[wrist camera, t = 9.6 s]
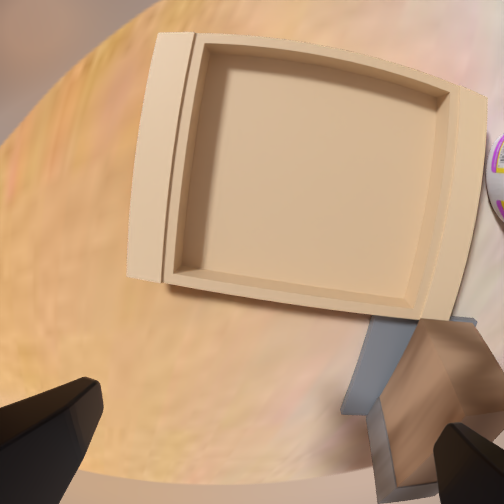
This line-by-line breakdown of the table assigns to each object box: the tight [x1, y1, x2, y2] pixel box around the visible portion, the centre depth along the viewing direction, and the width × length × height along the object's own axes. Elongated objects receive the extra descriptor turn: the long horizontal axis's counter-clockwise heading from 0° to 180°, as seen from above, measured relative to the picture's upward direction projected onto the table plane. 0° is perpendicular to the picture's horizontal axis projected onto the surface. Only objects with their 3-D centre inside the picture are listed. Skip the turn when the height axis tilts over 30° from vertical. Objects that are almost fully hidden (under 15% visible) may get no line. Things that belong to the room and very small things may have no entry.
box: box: [366, 318, 504, 504], centre depth 14 cm, size 4×9×7 cm, turn 172°
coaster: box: [340, 315, 477, 415], centre depth 19 cm, size 8×8×1 cm
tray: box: [127, 32, 487, 321], centre depth 16 cm, size 18×13×2 cm
